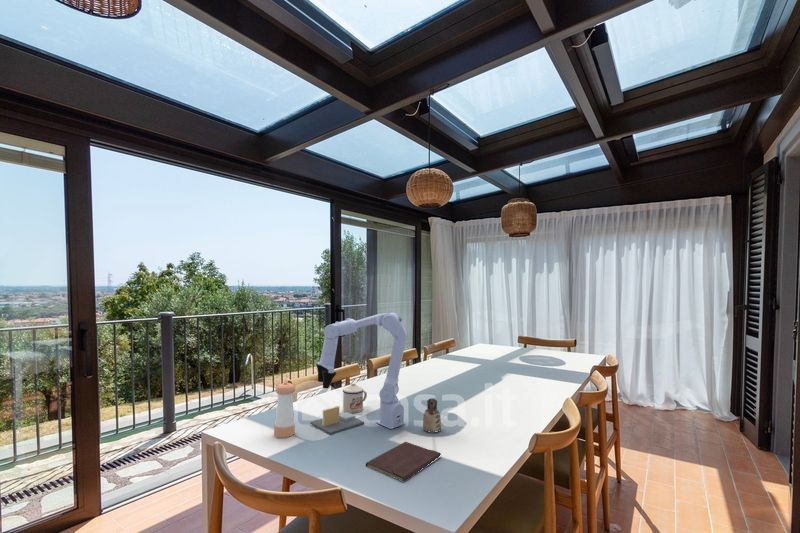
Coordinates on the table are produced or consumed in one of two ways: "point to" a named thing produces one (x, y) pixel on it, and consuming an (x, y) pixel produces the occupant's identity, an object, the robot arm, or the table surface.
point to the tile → (330, 416)
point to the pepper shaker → (284, 411)
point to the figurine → (431, 417)
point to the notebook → (403, 460)
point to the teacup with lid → (353, 398)
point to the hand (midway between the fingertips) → (323, 384)
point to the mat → (337, 425)
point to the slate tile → (346, 416)
